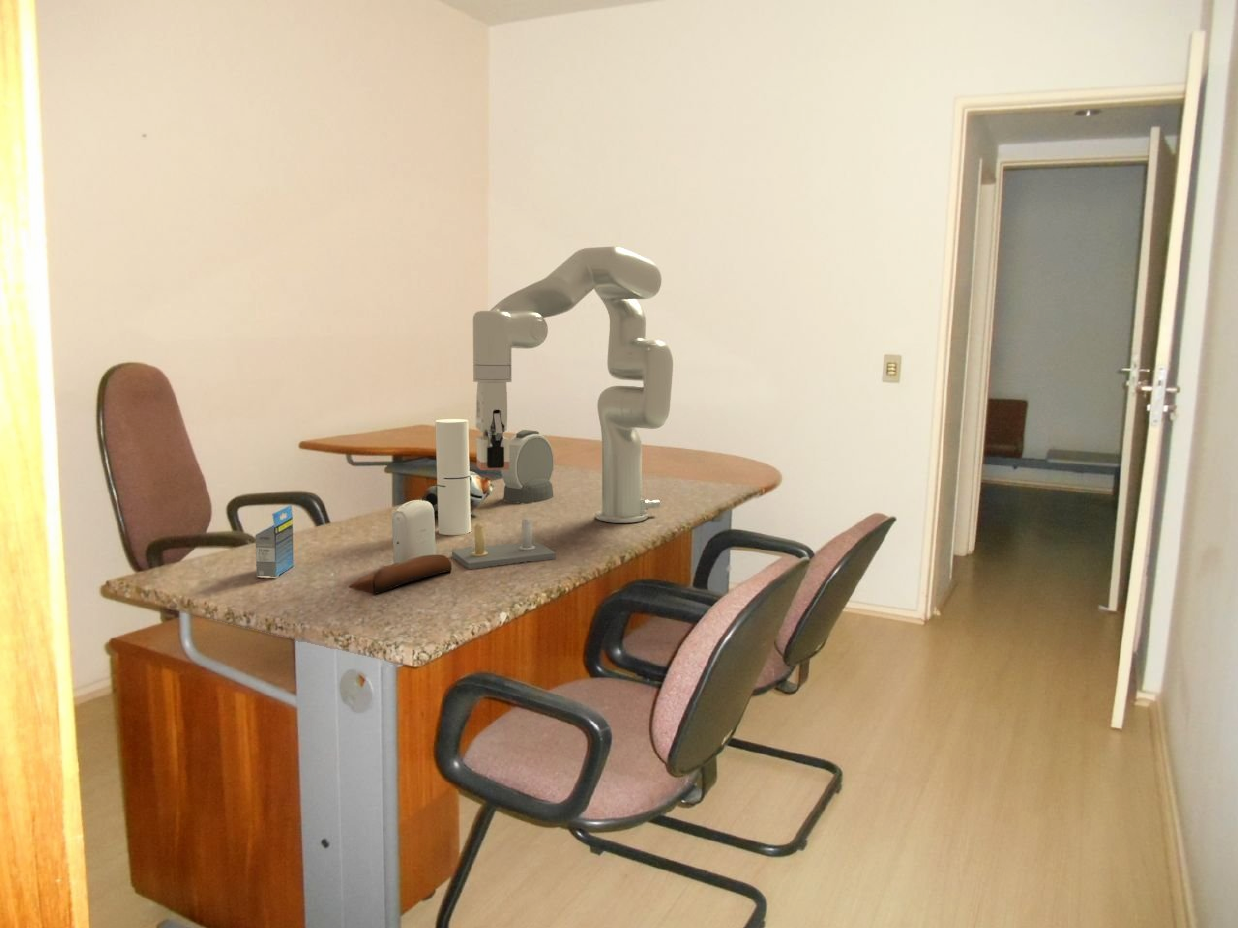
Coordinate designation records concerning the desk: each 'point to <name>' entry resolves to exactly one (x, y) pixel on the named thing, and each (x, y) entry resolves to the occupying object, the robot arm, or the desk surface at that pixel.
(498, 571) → the desk surface
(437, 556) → the sunglasses case
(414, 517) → the photo printer
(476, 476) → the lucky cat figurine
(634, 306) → the robot arm
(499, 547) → the pin board
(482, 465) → the sleeve
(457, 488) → the cylindrical container
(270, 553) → the label tape box
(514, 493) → the alarm clock
